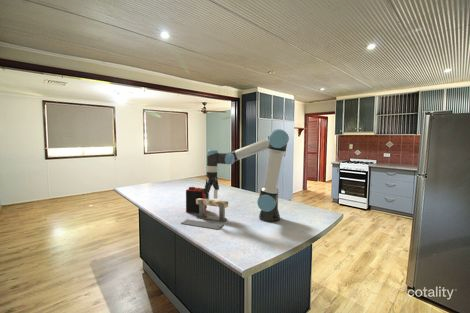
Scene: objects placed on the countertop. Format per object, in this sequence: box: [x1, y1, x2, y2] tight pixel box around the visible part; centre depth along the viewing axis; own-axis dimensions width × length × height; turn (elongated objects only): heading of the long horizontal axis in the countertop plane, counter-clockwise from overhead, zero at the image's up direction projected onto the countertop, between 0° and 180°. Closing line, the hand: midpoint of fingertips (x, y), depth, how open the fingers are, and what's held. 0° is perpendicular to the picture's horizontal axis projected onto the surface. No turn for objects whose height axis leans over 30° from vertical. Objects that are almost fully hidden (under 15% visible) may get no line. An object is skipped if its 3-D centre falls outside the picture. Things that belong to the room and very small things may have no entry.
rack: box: [196, 201, 228, 223], centre depth 165 cm, size 21×6×13 cm, turn 70°
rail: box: [196, 198, 229, 209], centre depth 164 cm, size 24×4×4 cm, turn 70°
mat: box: [180, 219, 224, 231], centre depth 153 cm, size 28×8×1 cm, turn 70°
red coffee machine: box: [185, 186, 208, 214], centre depth 181 cm, size 16×10×20 cm, turn 74°
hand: (211, 200), depth 164 cm, fingers open, 13 cm apart
